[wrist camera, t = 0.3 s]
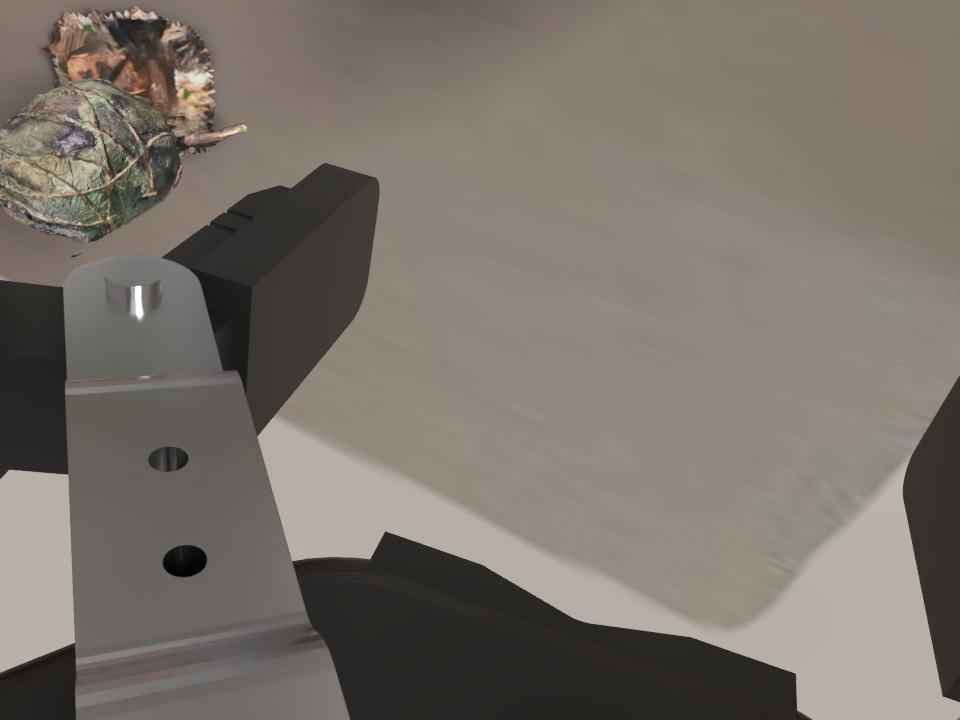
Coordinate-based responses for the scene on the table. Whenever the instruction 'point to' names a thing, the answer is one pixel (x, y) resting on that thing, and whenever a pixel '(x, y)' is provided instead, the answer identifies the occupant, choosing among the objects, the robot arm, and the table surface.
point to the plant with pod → (108, 125)
